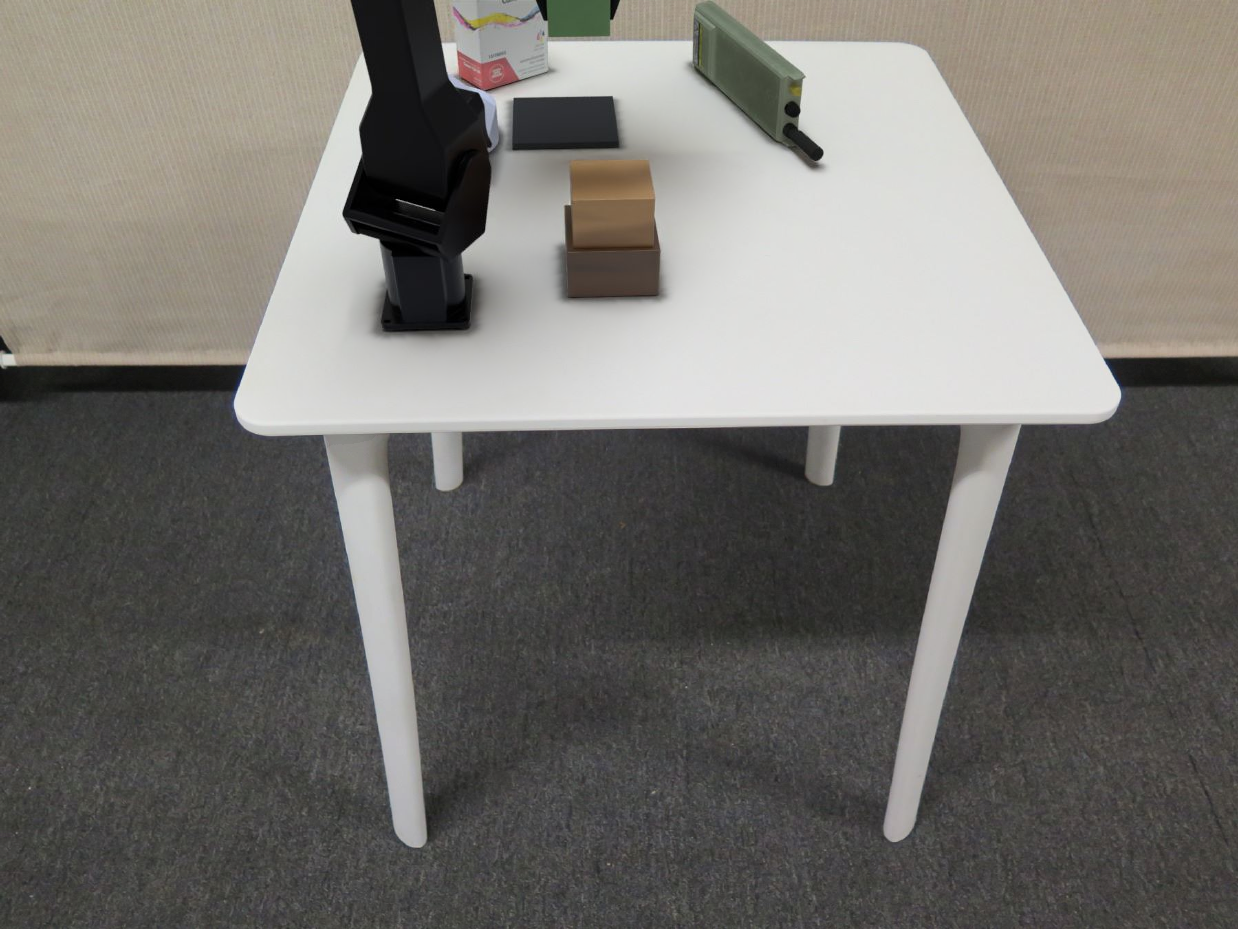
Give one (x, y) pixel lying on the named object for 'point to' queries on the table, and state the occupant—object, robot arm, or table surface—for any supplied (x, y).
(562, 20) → the green block
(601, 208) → the oak block
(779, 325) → the table surface
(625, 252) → the walnut block
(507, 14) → the ink cartridge box
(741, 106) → the handheld radio
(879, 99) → the table surface
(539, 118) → the mat
